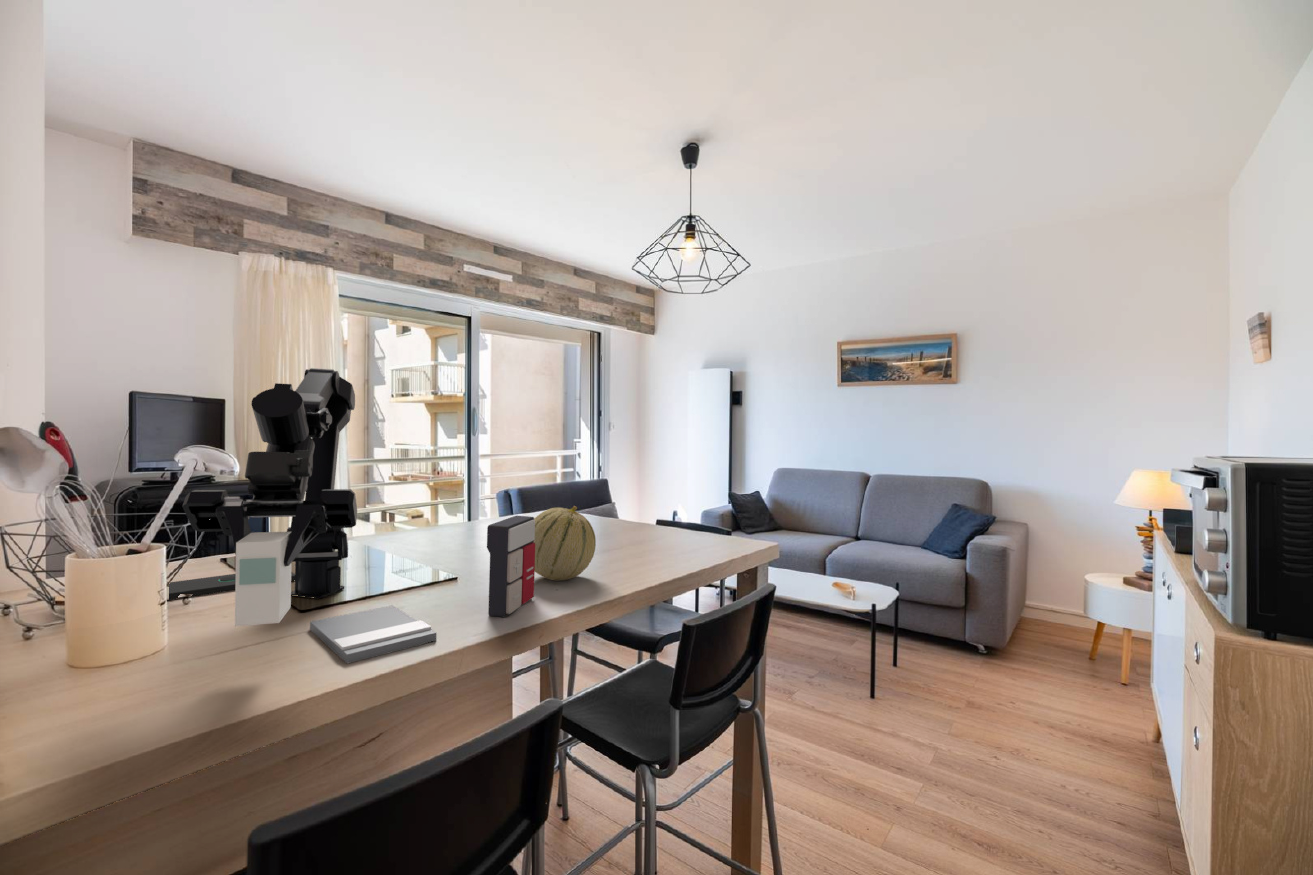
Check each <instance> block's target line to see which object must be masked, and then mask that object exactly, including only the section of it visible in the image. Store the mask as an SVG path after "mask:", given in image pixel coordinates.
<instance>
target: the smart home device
mask: <svg viewBox="0 0 1313 875" xmlns="http://www.w3.org/2000/svg"><path fill="white" fill-rule="evenodd" d="M294 580H295V572H293V571H291V581H294ZM169 582H170V584H169V600H168V601H171V600H176V598H178V596H179V595H180V594H193V595H192V596H191V597H190V598H193V597H199V596H206V595H212V594H213V595H214V594H219V593H225V592H233V591H234V592H235V586H236V573H229V574H222V575H215V576H208V577H200V578H193V579H185V580H184V579H183V580H176V581H169ZM294 582H295V581H294Z"/></svg>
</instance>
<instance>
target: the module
mask: <svg viewBox="0 0 1313 875" xmlns="http://www.w3.org/2000/svg"><path fill="white" fill-rule="evenodd" d="M291 532H292V531H290V532H287V531H265V532H263V531H262V532H260V531H259V532H252V533H250V534H249V535H247V536H246V537H244V538H242V539H241V540H239V541H238V542H236V555H235V574H236V586H235V591H234V593H235V596H234V599H235V600H234V601H235V602H234V605H235V606H234V607H235V608H234V627H243V626H255V625H257V626H258V625H270V624H280V622H281V621H282V620H283V618H284V617H285V616H286V614H287V613H288V612H289V610H290V609H291V607H292V606H291V605H292V603H291V602H292V596H291V591H292V582H291V572H292V565H293V564H292V563H293V562H292V563H291V564H290V565H289V566H285V565H284V557H285V551H286V548H287V545H288V542H289V539H290V535H291Z"/></svg>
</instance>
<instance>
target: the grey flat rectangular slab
mask: <svg viewBox="0 0 1313 875" xmlns="http://www.w3.org/2000/svg"><path fill="white" fill-rule="evenodd" d="M309 630H310V631H311V632H312V633H313V634H314V635H315V636H316V637H317V638H318V639H320V640H321V641H322V642H323V643H324V644H325V645H326V646H327V647H328V648H329V649H330V650H332V652H334V654H336V655H337V656H338V657H339V658H340V659H341V660H342V661H343V662H344V663H346V664H350V663H351V664H352V663H354V662H358V661H362V659H363V660H366V659H369V658H374V657H378V656H382V655H385V654H389V653H394V652H397V650H398V651H401V650H404V649H410V648H413V646H414V647H417V646H421V645H425V644H428V642H429V643H432V642H431V641H433V642H436V641H437V632H436V631H435V630H432V626H431V625H430V624H428V623H426V622H425V621H423V620H421V619H420V620H417V619H416V618H414V617H413V616H410V615H409V614H407V613H406V612H404V611H403V610H401V609H400V608H398V607H396V606H394V605H392V604H391V605H387V606H386V605H385V606H382V607H377V608H376V607H375V608H371V609H367V610H362V611H356V612H351V613H347V614H342V615H336V616H332V617H331V616H330V617H326V618H321V619H314V620H312V621H311V620H310V621H309ZM424 643H425V644H424ZM409 647H410V648H409ZM393 651H394V652H393Z"/></svg>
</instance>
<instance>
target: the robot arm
mask: <svg viewBox="0 0 1313 875" xmlns="http://www.w3.org/2000/svg"><path fill="white" fill-rule="evenodd" d="M292 384H293V383H279V382H278V383H274V386H273V388H269V389H266V390H263V391H261V392H259V393H258V394H257V395H256V396H254V397H253V398H252V399H251V408H252V412H253V415H254V418H255V421H256V425H257V428H258V432H259V435H260V438H261V440H262V442H263V443H267V446H266V451H250V452H248V454H247V460H246V468H245V472H244V478H245V479H247V480H248V481H249V482H248V485H247V491H248V494H249V495H252V496H253V497H252V499H245V497H242V496H229V493H228V490H227V489H207V490H206V489H201V490H199V489H195V490H192V491H189V493H187V494H186V495H185V497H184V500H183V503H182V506H181V507H182V509H183V511H184V513H185V515H186V518H187V520H188V521H189V524H190V526H191V528H192V529H193V531H196V532H199V533H209V532H210V533H211V532H212V533H213V532H222V533H223V534H224V535H225V536H228V537H230V536H231V537H232V541H233V548H234V556H236V542H238V541H239V540H241V539H242V538H244V537H246V536H247V535H249V534H250V533H253V531H252V530H251V529H252V528H251V527H250V526H251V525H250V524H249V521H250V518H280V517H281V518H286V517H287V518H289V517H291V524H290V527H287V528H286V532H290V531H292V532H291V535H290V539H289V542H288V545H287V548H286V551H285V557H284V565H285V566H289V565H290V564H291V563H293V562H294V568H295V569H294V571H295V572H294V574H295V581H294V590H291V595H298V596H305V597H304V598H306V597H314V598H313V599H317V598H319V599H323V598H325V597H327V596H326V595H328V596H331V595H332V594H335V593H337V591H338V592H340V591H342V590H345V585H341V576H342V575H341V570H342V569H341V568H342V567H341V565H340V561H342V560H344V559H347V558H349V543H348V542H349V541H348V533H346V532H345V529H350V528H354V527H356V526H357V519H358V507H357V498H356V493H355V492H354V490H352V489H351V488H349V489H348V488H345V489H344V488H340V489H339V488H338V489H336V488H335V484H336V474H337V462H338V452H339V443H340V442H339V441H340V440H339V439H340V433H341V431H342V430H343V429H344V428H345V427H346V426H347V425H348V424H349V423H350V421H351V414H352V411H355V407H356V393H355V390H354V386H353V384H352V383H351V382H349V381H348V380H346V379H345V378H342V376H340V373H339V371H338V370H335V369H333V368H330V369H329V368H313V367H311V368H308V369H305V371H304V376H303V379H302V380H301V382H300V383H299V385H298V386H297V387H296V389H295V390H294V389H293V385H292ZM210 518H211V520H209V519H210ZM322 597H323V598H322Z"/></svg>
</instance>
